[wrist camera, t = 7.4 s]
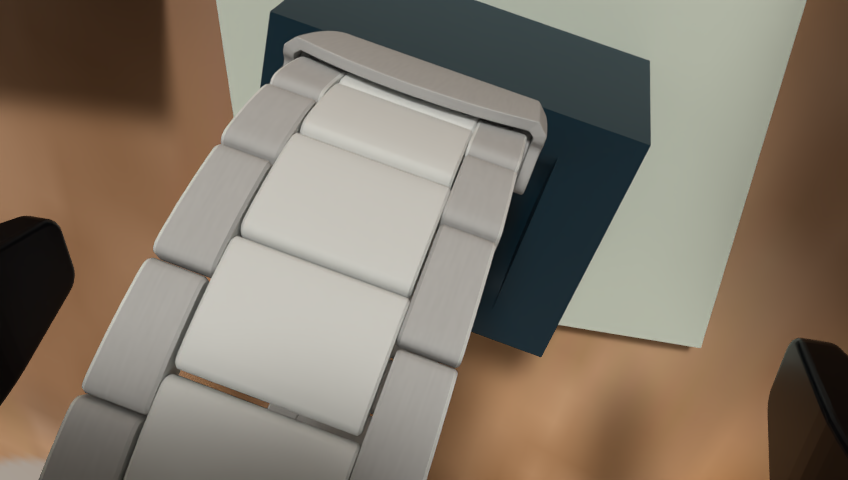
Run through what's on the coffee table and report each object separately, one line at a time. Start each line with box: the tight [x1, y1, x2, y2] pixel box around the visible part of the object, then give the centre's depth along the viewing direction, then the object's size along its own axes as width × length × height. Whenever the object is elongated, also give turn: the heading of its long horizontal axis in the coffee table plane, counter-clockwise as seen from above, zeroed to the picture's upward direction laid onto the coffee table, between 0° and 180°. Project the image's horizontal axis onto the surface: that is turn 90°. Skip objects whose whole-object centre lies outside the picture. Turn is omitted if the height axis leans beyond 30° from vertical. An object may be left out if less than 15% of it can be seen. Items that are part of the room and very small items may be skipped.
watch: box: [39, 0, 651, 480], centre depth 10 cm, size 6×8×11 cm
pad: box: [216, 0, 807, 348], centre depth 14 cm, size 10×10×1 cm
